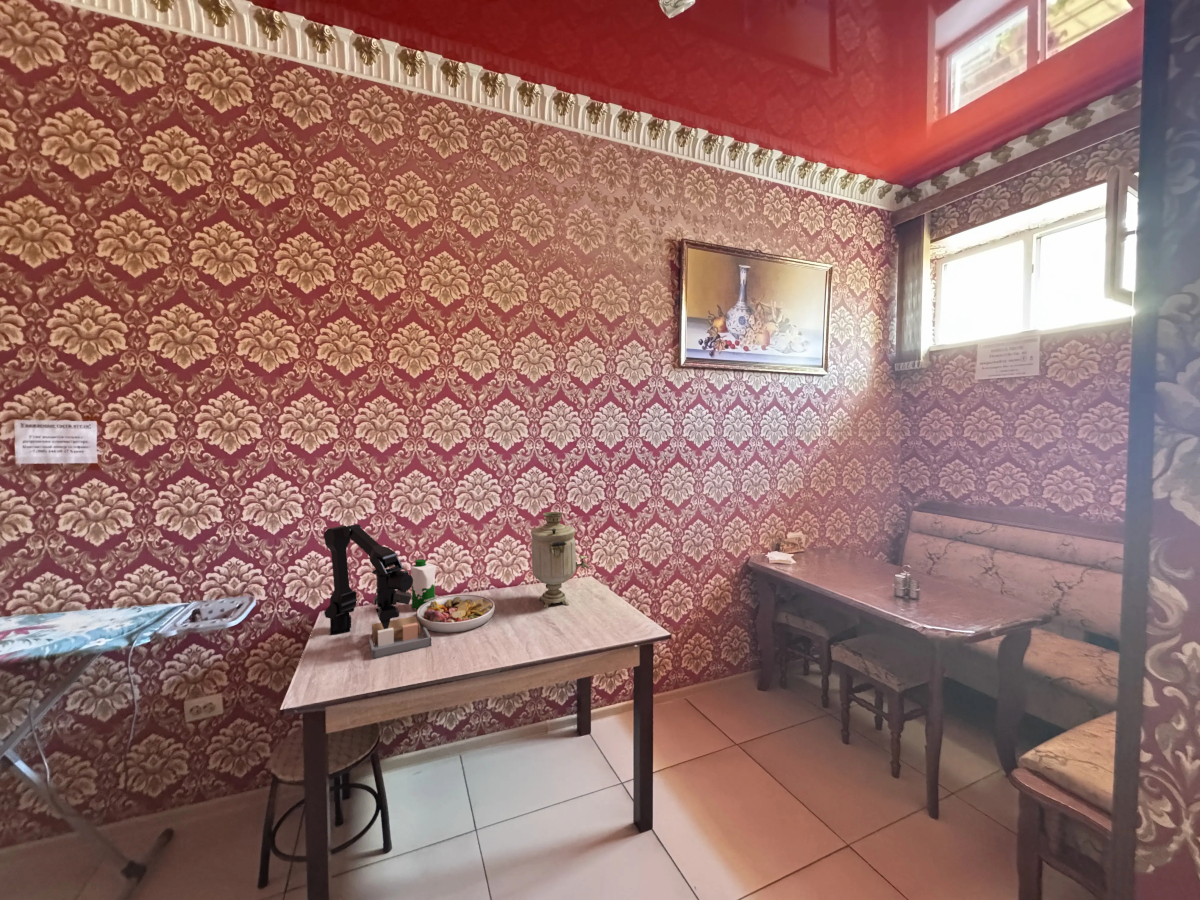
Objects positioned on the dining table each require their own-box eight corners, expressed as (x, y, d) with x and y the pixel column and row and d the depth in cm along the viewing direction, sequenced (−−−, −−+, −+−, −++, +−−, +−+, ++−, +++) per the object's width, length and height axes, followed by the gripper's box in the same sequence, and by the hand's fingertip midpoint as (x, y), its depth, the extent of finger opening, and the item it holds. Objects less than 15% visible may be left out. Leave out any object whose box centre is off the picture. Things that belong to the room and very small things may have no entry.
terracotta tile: (402, 638, 170) (403, 641, 168) (402, 625, 170) (403, 627, 168) (416, 635, 173) (417, 637, 171) (416, 622, 172) (417, 624, 171)
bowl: (449, 601, 209) (449, 584, 208) (508, 611, 199) (508, 593, 198) (399, 628, 181) (399, 608, 180) (465, 641, 170) (465, 620, 170)
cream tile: (377, 644, 166) (378, 646, 164) (377, 630, 165) (378, 632, 164) (392, 641, 168) (393, 643, 167) (392, 627, 168) (393, 629, 166)
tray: (372, 659, 156) (372, 650, 156) (369, 647, 165) (368, 638, 164) (431, 646, 166) (431, 637, 166) (425, 635, 175) (425, 627, 174)
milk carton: (426, 601, 207) (425, 557, 206) (439, 606, 202) (439, 560, 201) (408, 608, 200) (408, 561, 199) (421, 613, 195) (421, 565, 194)
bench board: (375, 645, 166) (375, 634, 165) (372, 634, 174) (372, 624, 174) (419, 636, 174) (419, 625, 173) (414, 626, 182) (414, 616, 182)
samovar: (587, 616, 193) (588, 521, 191) (524, 615, 194) (525, 520, 192) (590, 591, 223) (591, 508, 221) (535, 590, 224) (536, 507, 221)
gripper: (414, 590, 163) (414, 634, 164) (405, 575, 179) (405, 615, 180) (379, 596, 157) (380, 641, 158) (372, 580, 173) (373, 621, 174)
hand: (386, 629), depth 168 cm, fingers closed
